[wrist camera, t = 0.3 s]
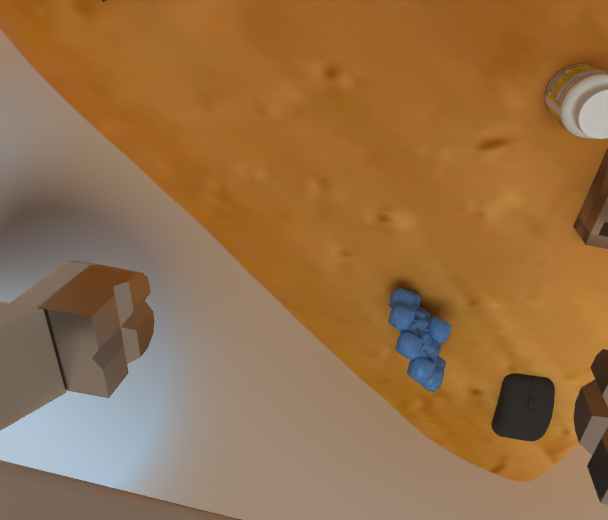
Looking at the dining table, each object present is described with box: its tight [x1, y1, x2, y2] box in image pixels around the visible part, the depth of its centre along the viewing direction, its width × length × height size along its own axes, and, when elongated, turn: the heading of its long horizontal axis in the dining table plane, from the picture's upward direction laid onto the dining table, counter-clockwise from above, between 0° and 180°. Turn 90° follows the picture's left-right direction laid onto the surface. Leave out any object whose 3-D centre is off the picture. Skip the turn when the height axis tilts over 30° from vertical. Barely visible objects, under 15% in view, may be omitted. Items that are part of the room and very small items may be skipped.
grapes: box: [389, 288, 452, 392], centre depth 57 cm, size 12×7×12 cm, turn 31°
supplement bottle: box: [545, 64, 608, 139], centre depth 43 cm, size 5×5×10 cm
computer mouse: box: [492, 374, 555, 441], centre depth 65 cm, size 6×11×4 cm, turn 0°
